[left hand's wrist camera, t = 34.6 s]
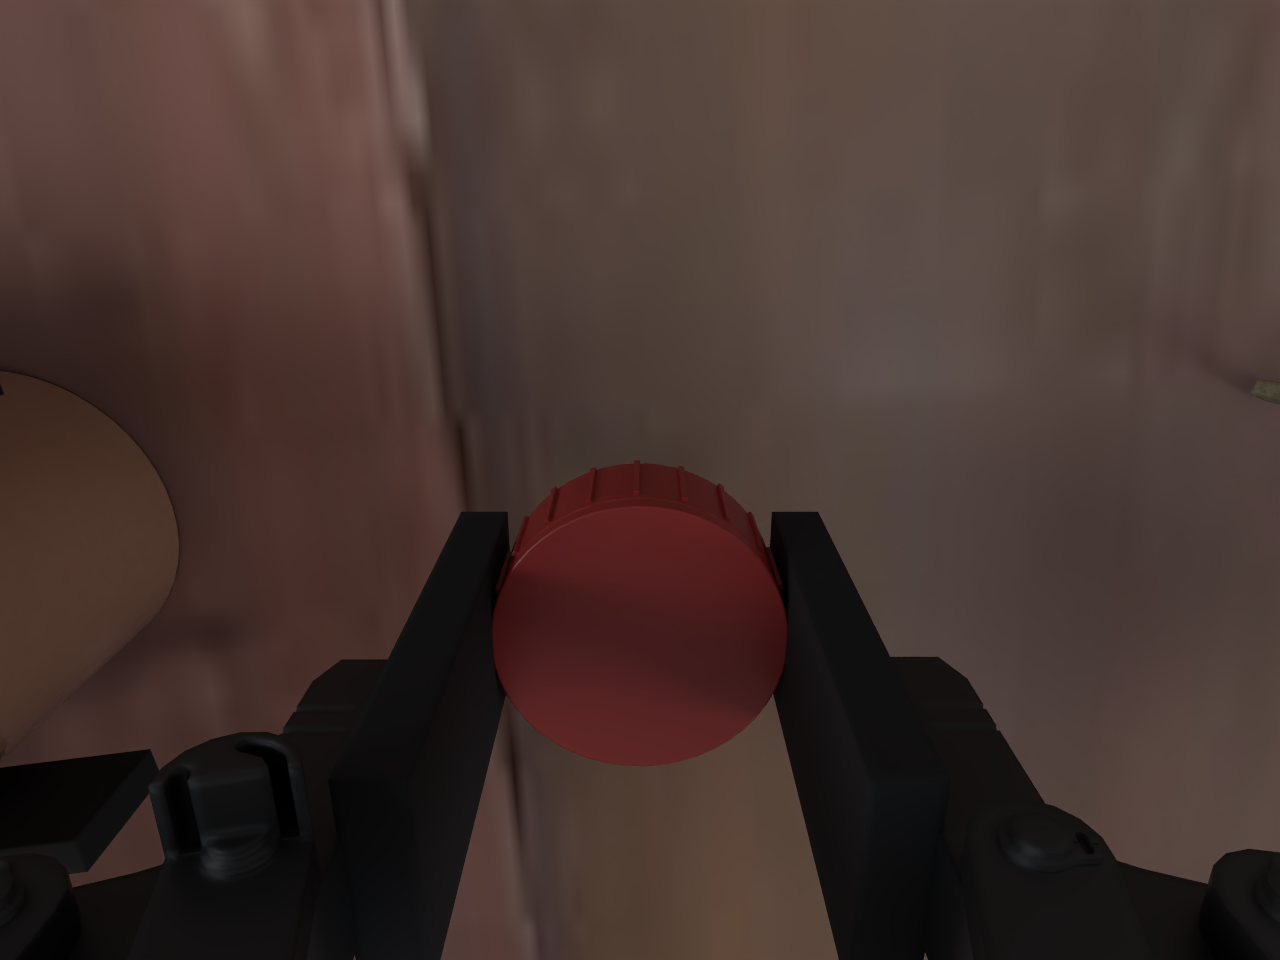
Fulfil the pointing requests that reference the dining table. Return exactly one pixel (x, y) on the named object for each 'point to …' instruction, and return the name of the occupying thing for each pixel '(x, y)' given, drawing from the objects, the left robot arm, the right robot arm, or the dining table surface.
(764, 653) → the cap
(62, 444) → the bottle
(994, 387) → the dining table surface
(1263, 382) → the miniature windmill
